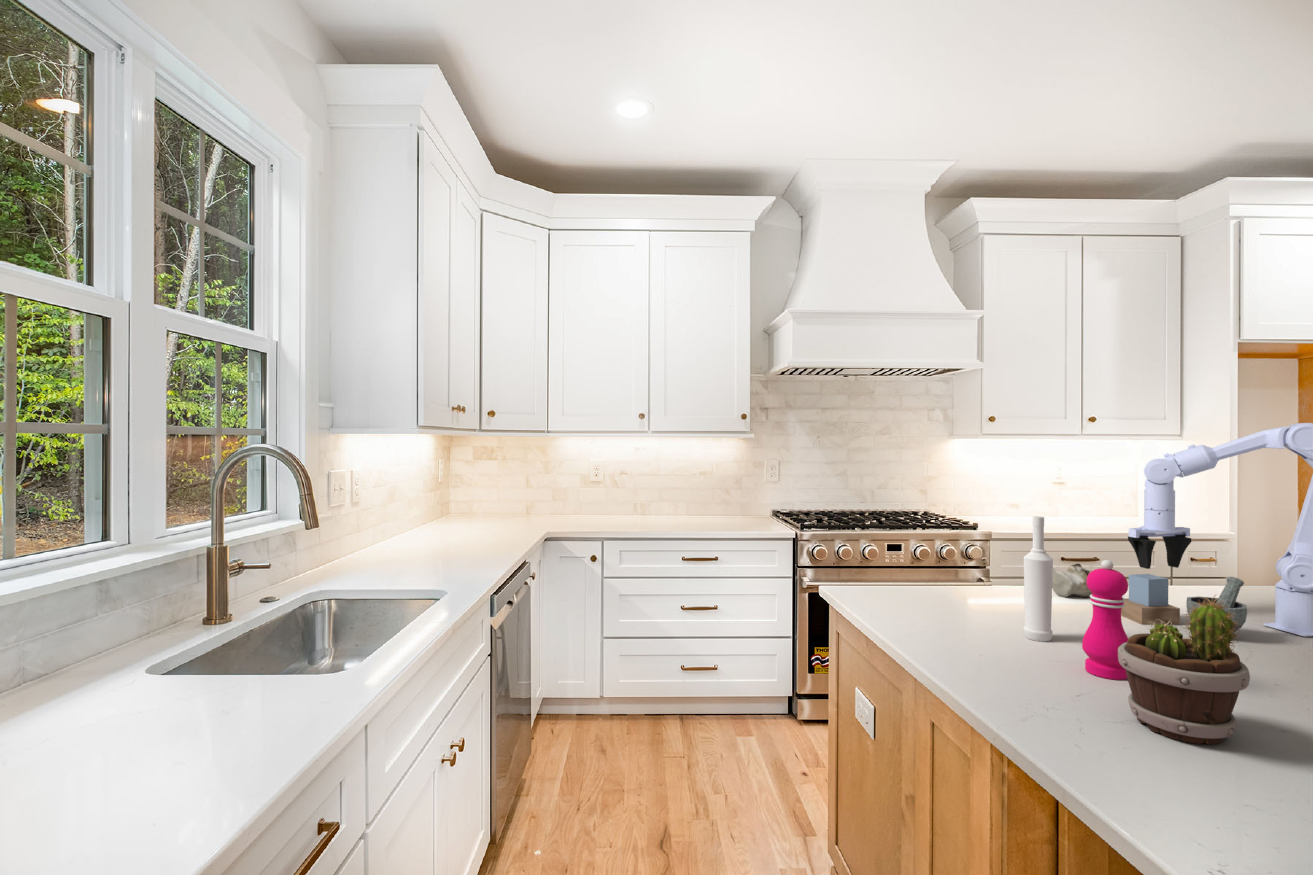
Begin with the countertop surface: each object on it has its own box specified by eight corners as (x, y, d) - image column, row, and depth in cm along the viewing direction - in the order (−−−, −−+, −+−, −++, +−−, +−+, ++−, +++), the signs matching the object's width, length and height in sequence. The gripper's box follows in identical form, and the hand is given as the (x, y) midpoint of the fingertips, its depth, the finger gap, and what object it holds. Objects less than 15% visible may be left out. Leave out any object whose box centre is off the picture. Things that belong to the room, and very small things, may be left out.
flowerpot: (1110, 731, 91) (1111, 591, 90) (1124, 697, 102) (1125, 573, 102) (1249, 767, 81) (1251, 610, 81) (1248, 726, 92) (1250, 588, 92)
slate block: (1147, 599, 147) (1148, 573, 147) (1168, 605, 142) (1168, 578, 142) (1128, 600, 146) (1128, 574, 146) (1148, 606, 141) (1148, 579, 141)
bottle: (1044, 634, 134) (1045, 515, 133) (1057, 642, 128) (1058, 518, 128) (1018, 633, 134) (1019, 514, 134) (1030, 641, 129) (1031, 518, 129)
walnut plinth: (1153, 615, 148) (1153, 598, 148) (1179, 626, 140) (1179, 608, 140) (1117, 615, 148) (1117, 598, 148) (1141, 626, 140) (1142, 607, 140)
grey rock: (1039, 557, 169) (1093, 560, 170) (1036, 590, 169) (1091, 593, 170) (1066, 567, 159) (1124, 570, 159) (1063, 601, 159) (1122, 604, 159)
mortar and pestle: (1221, 644, 127) (1221, 584, 127) (1174, 630, 136) (1174, 574, 136) (1265, 640, 129) (1265, 581, 129) (1216, 626, 138) (1216, 571, 138)
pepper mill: (1140, 682, 108) (1141, 565, 108) (1093, 679, 109) (1093, 563, 109) (1119, 667, 115) (1119, 556, 115) (1074, 664, 116) (1075, 555, 116)
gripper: (1170, 507, 155) (1170, 562, 155) (1117, 508, 153) (1117, 564, 153) (1199, 510, 148) (1198, 569, 148) (1143, 511, 146) (1143, 571, 146)
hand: (1159, 567), depth 150 cm, fingers open, 7 cm apart
